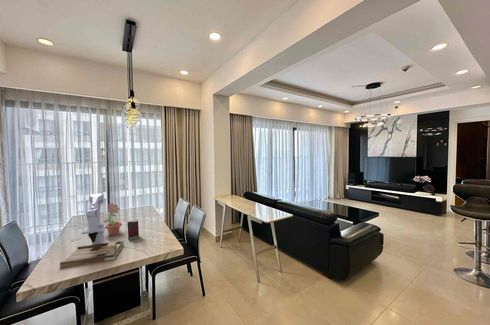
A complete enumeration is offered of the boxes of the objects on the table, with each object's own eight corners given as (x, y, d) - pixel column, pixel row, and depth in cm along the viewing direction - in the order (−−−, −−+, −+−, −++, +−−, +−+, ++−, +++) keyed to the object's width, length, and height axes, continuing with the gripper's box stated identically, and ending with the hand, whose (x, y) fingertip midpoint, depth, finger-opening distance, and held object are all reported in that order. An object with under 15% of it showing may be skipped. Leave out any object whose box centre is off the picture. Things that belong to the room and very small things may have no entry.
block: (109, 249, 155) (109, 243, 154) (116, 248, 156) (116, 242, 156) (107, 252, 150) (106, 245, 150) (114, 251, 151) (114, 244, 151)
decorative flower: (112, 237, 180) (111, 205, 179) (100, 236, 183) (99, 205, 181) (125, 231, 195) (124, 201, 193) (114, 230, 198) (112, 201, 196)
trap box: (78, 250, 156) (77, 246, 156) (123, 244, 166) (123, 240, 166) (60, 267, 134) (59, 262, 133) (114, 259, 143) (113, 254, 143)
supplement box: (138, 236, 183) (138, 219, 182) (139, 238, 179) (138, 221, 178) (128, 238, 179) (127, 221, 178) (128, 240, 175) (127, 222, 174)
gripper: (78, 227, 145) (79, 245, 145) (101, 225, 149) (102, 242, 150) (83, 224, 151) (84, 241, 152) (105, 222, 156) (106, 238, 157)
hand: (93, 241), depth 151 cm, fingers closed
